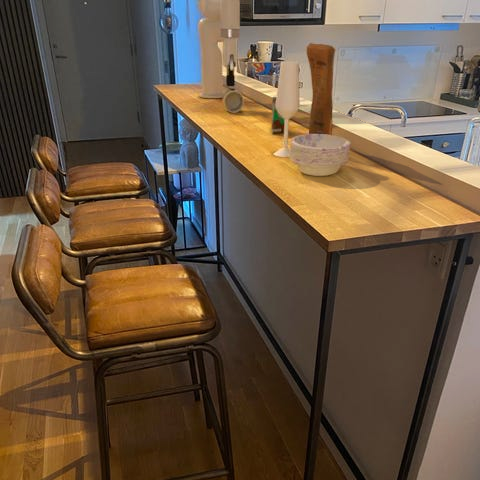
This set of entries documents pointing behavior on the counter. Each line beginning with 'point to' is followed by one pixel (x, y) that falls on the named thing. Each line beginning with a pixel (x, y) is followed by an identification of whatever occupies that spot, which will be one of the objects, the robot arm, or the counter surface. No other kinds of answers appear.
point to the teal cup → (232, 100)
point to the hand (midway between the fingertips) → (230, 85)
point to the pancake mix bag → (321, 87)
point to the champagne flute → (287, 98)
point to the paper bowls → (319, 153)
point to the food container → (277, 120)
